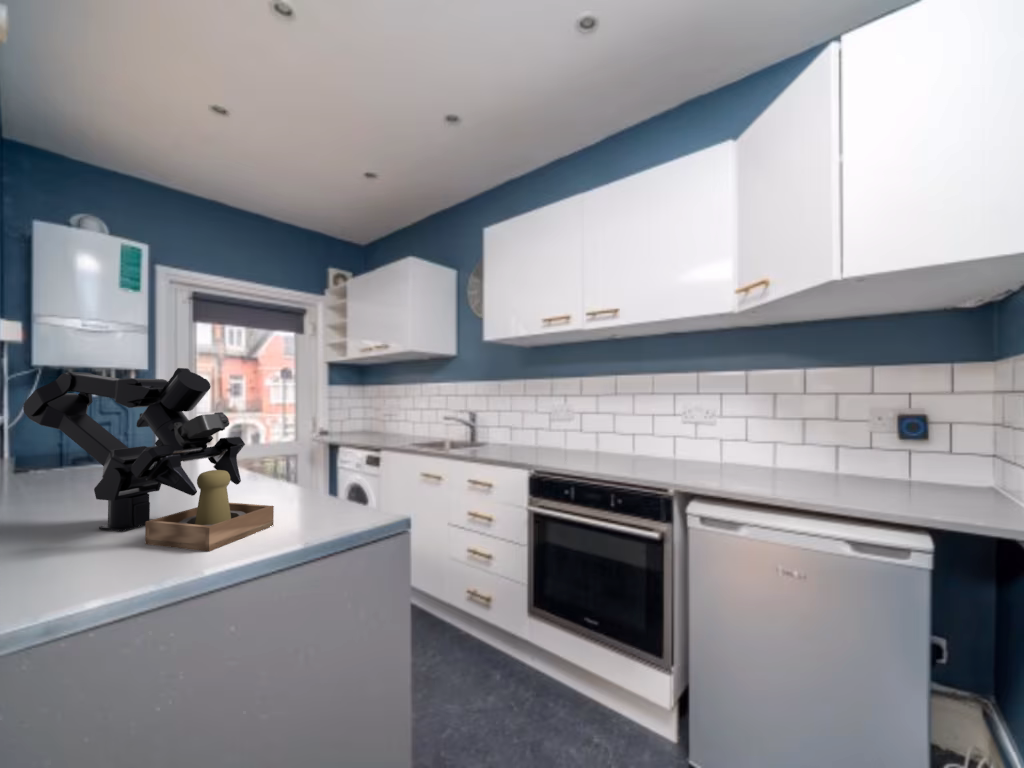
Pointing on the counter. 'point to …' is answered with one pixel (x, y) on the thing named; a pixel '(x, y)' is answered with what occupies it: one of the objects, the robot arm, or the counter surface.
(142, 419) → the robot arm
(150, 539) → the socket box
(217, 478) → the olive knobbed peg
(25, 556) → the counter surface
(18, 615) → the counter surface
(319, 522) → the counter surface
